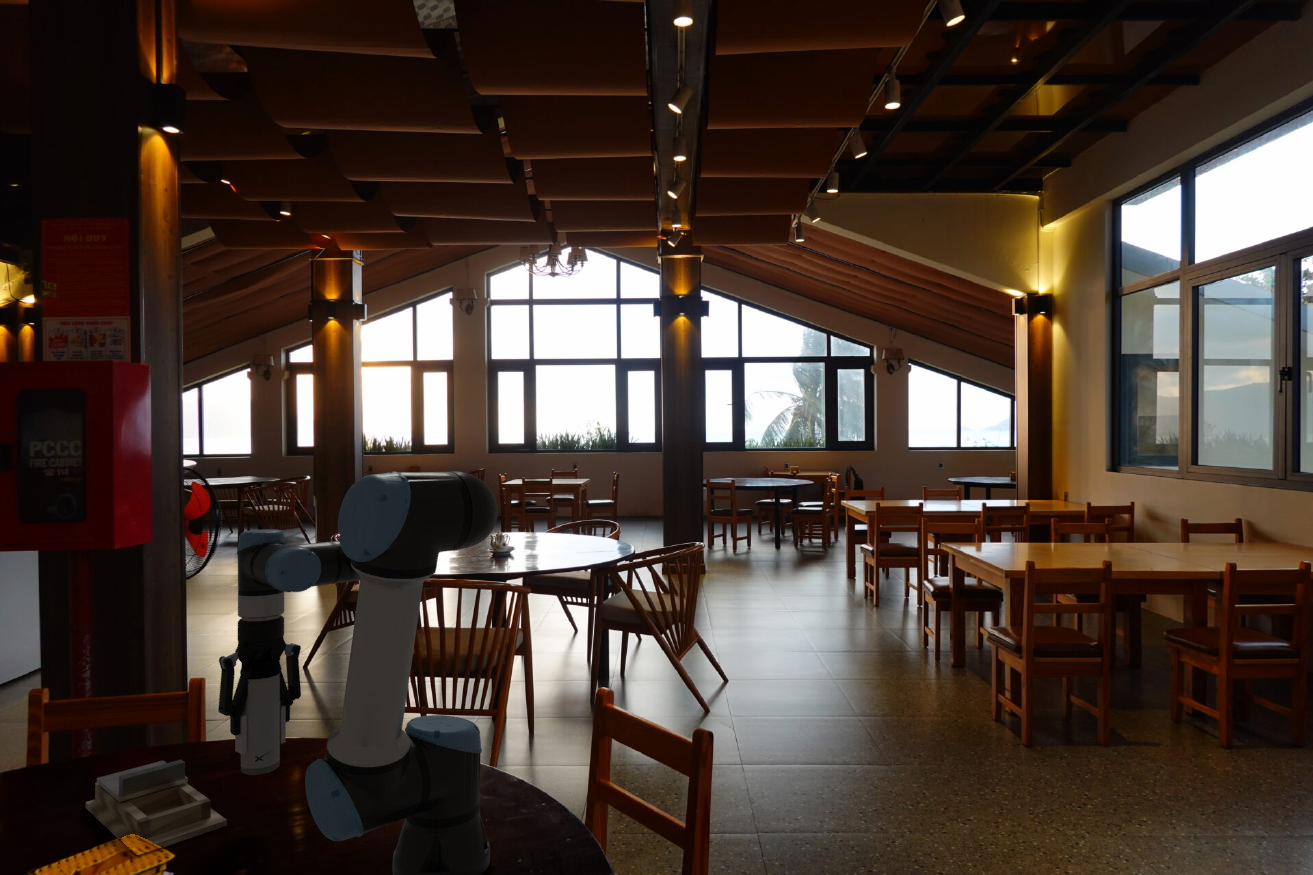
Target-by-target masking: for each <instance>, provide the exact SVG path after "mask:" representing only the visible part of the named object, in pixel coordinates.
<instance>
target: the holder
mask: <svg viewBox="0 0 1313 875" xmlns="http://www.w3.org/2000/svg"><path fill="white" fill-rule="evenodd" d="M94 784H95V786H94V787H95V788H94V791H95V792H94V799H92V800H89V801H88V800H87V801H85V806H84V807H85V809H86V810H87V811H88V812H89V813H90V814H91V815H93V816H94V817H95V818H96V820H98V821H99V822H100V823H101V824H102V825H103V826H104V827H105V828H106V829H107V830H108V831H109V832H111V833H112V835H113V836H115V838H117V839H118V838H122V837H124V836H126V835H130V834H135V835H139V836H140V837H143V838H145V839H148V840H150V841H152V842H154V843H155V844H158V845H160V846H163V848H165V847H168V846H171V845H174V844H177V843H180V842H183V841H185V840H188V839H192V838H194V837H198V836H200V835H203V834H207V833H210V832H213V831H215V830H218V829H221V828H224V827H227V826H228V823H227V822H228V819H227V818H225V817H224V816H222V815H221V814H219V813H218V812H217V811H215V810H214V809H212V800H211V799H209V797H207V796H205V795H204V794H202V793H201V792H200V791H198V790H197V789H196V788H194V787H193V786H191V785H190V784H188V782H187V783H183V784H180V785H176V786H173V787H169V788H166V789H163V790H159V791H156V792H152V793H149V794H145V795H142V796H138V797H135V798H132V799H128V800H125V801H121V802H119V801H118V800H116V799H115V798H114V797H113V796H112V795H111V794H110V793H108V792H107V791H106V790H105V789H104V788H103V787H101V786H100V785H99V784H98V783H97V782H95V783H94Z"/></svg>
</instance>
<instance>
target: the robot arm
mask: <svg viewBox="0 0 1313 875" xmlns="http://www.w3.org/2000/svg"><path fill="white" fill-rule="evenodd" d="M498 511H499V510H498V502H497V498H496V496H495V494H494V493H493V491H492V489H491V488H490V487H489V485H488V484H486V483H485V481H484V480H482V479H481V478H479V477H478V476H475V475H473V474H471V473H468V472H462V471H455V470H453V471H451V470H450V471H449V470H447V471H432V472H430V471H429V472H428V471H427V472H426V471H425V472H423V471H421V472H420V471H417V472H413V471H412V472H410V471H409V472H402V471H401V472H397V471H388V472H384V473H378V474H377V473H376V474H375V473H374V474H368V475H365V476H362V477H360V478H359V479H358V480H356V482H355V483H353V484H352V485H351V486H350V488H349V489H348V490H347V492H346V494H344V498H343V500H342V502H341V505H340V508H339V512H338V519H337V533H339V534H340V535H339V538H338V540H335V541H325V542H311V543H300V544H299V543H298V544H297V543H296V544H286V541H285V540H286V538H285V533H284V531H282V530H280V529H272V528H270V529H269V528H268V529H250V530H246V531H243V532H241V533H240V534H239V536H238V544H237V550H236V555H237V616H238V617H239V619H238V621H237V647H236V649H235V652H233V653H231V654H229V655H227V656H224V655H222V656H220V657H219V659H218V663H219V665H220V666H219V667H220V670H221V672H220V673H221V676H220V682H219V683H220V684H219V698H218V699H219V700H218V709H217V710H218V713H219V714H221V715H224V716H226V717H230V718H229V721H230V722H229V728H230V729H229V731H230V734H231V735H233V736H235V737H234V738H235V740H234V741H235V742H234V743H235V744H234V749H235V751H234V752H236V753H239V754H240V755H241V754H246V751H247V716H246V715H243V714H242V712H243V709H244V706H245V703H246V699H247V696H248V684H249V682H248V678H249V677H250V676H252V666H251V668H250V670H249V671H248V673H246V674H243V672H242V666H240V667H241V668H240V672H239V673H240V675H239V678H238V682H237V684H236V689H235V691H234V688H235V687H234V684H235V667H236V666H237V661H238V660H239V662H240V663H241V665H242V664H245V665H247V664H250V663H258V662H263V661H268V660H269V659H270V658H272V657H275V656H280V658H281V656H282V655H283V654H284V656H285V666H286V680H287V683H286V681H285V678H284V674H283V672H282V665H281V663H280V662H281V661H280V662H279V669H278V670H280V676H279V677H280V744H286V733H287V732H286V723H288V722H290V719H291V706H292V705H293V704H294V701H295V700H299V699H300V698H302V692H301V689H302V688H301V676H300V663H299V658H300V654H301V650H302V647H301V645H299V644H297V643H292V642H291V643H287V642H286V641H285V638H284V637H285V617H284V616H283V614H284V613H285V593H300V592H301V593H302V592H305V591H308V590H309V589H310V588H312V587H319V586H320V587H321V586H326V585H333V584H340V583H347V582H348V583H349V582H357V581H359V586H358V592H357V600H356V607H355V617H354V622H353V623H354V624H353V630H352V638H351V644H350V651H349V653H350V655H349V661H348V668H347V676H346V682H345V683H346V684H345V691H344V698H343V706H342V712H341V721H340V727H339V728H337V729H336V730H334V731H333V732H332V733H331V734H330V736H329V737H328V739H327V741H326V748H325V749H326V750H325V756H324V758H317V759H316V760H315V761H312V763H311V764H310V765H308V767H307V768H306V772H305V777H304V785H305V796H306V800H307V804H308V807H309V810H310V813H311V816H312V819H313V821H314V822H315V824H316V826H317V828H318V829H319V831H320V832H321V833H322V834H323V835H324V836H325V837H326V838H327V839H329V840H330V841H333V842H343V841H345V840H349V839H353V838H356V837H358V838H359V837H362V836H363V835H365V834H366V833H369V832H371V831H374V830H376V829H379V828H382V827H385V826H387V825H390V824H393V823H396V822H398V821H401V820H404V822H403V825H402V828H401V832H400V834H399V837H398V839H397V840H398V841H397V844H396V848H395V850H394V852H393V855H392V868H391V869H392V871H391V872H392V875H483V874H484V873H485V872H486V870H487V869H488V868H489V866H490V863H491V846H490V845H491V844H490V842H489V838H488V835H487V831H486V829H485V826H484V823H483V819H482V816H481V812H480V811H481V810H480V807H481V806H480V805H481V804H480V803H481V755H482V754H481V753H482V752H483V749H482V741H481V732H480V731H481V730H480V729H479V727H478V726H477V724H475V723H474V722H473V721H472V720H469V719H467V718H464V717H459V716H452V715H443V714H442V715H441V714H433V715H422V716H416V717H414V718H412V719H410V720H409V721H407V723H406V727H405V728H404V729H403V723H404V718H405V710H406V703H407V696H408V692H409V691H408V690H409V689H408V688H409V682H410V676H411V668H412V662H413V656H414V648H415V641H416V636H417V629H418V628H417V627H418V621H419V616H420V607H421V601H422V594H423V593H422V592H423V587H424V586H423V585H424V582H425V581H426V580H428V579H429V578H430V577H432V576H433V575H435V573H436V571H437V567H438V561H439V555H440V553H445V552H452V551H453V552H455V551H459V550H463V549H468V548H471V547H474V546H477V545H478V544H480V543H482V542H484V540H486V539H487V537H489V536H490V534H491V533H492V532H493V530H494V528H495V526H496V524H497V521H498V520H497V519H498V513H499V512H498ZM242 674H243V675H245V676H242Z"/></svg>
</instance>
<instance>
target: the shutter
mask: <svg viewBox="0 0 1313 875" xmlns="http://www.w3.org/2000/svg"><path fill="white" fill-rule="evenodd" d="M188 782H189V778H188V777H187V775H186V762H185V761H184V760H183V759H178V760H174V761H170V762H166V761H165V760H159V761H156V762H152V763H149V764H144V765H142V766H137V767H133V768H130V769H125V770H122V771H119V772H118V771H117V772H115V773H111V774H107V775H104V776H99V777H96V783H98V784H99V785H100V786H101V787H103V788H104V789H105V790H106V791H107V792H108V793H110V794H111V795H112V796H113V797H114V798H115V799H116V800H118V801H119V802H121V801H125V800H128V799H132V798H135V797H138V796H142V795H145V794H149V793H152V792H156V791H159V790H163V789H166V788H169V787H173V786H176V785H180V784H183V783H187V784H188Z"/></svg>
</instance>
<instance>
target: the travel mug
mask: <svg viewBox="0 0 1313 875" xmlns="http://www.w3.org/2000/svg"><path fill="white" fill-rule="evenodd" d="M279 662H281V657H280V656H275V657H272V658H270V659H269V660H268V661H263V662H258V663H250V664H247V665H245V664H242V663H241V667H242V672H243V674H246V673H248V671H249V670H250V668H251V666H252V676H250V677H249V678H248V682H249V684H248V696H247V699H246V703H245V706H244V709H243V712H242V714H243V715H246V716H247V751H246V754H240V772H241V773H242V774H244V775H248V776H257V775H264V774H267V773H270V772H273V771H275V770H277V769H278V768H279V767H280V764H281V763H280V754H281V752H280V748H281V747H280V746H281V745H280V744H281V743H280V677H279V676H280V670H278V669H279ZM243 674H242V676H245V675H243Z"/></svg>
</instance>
